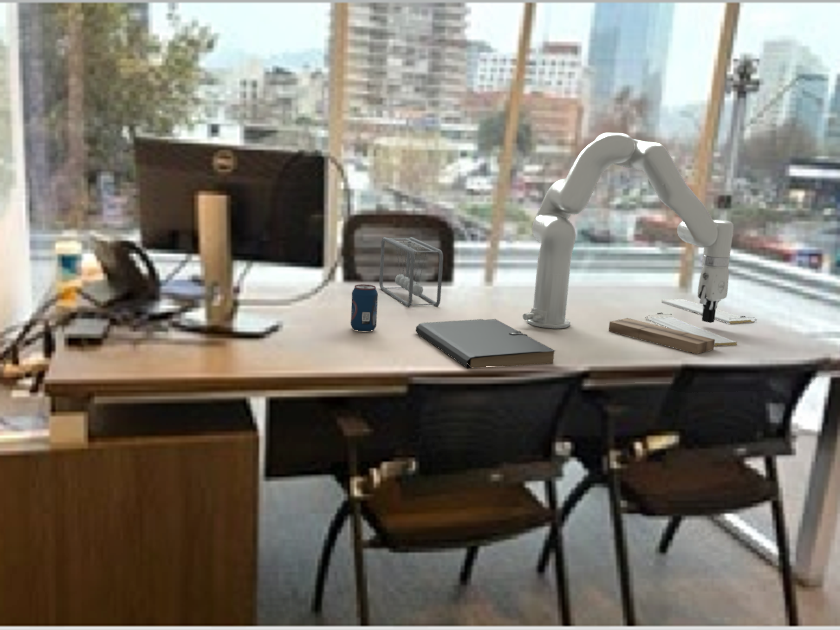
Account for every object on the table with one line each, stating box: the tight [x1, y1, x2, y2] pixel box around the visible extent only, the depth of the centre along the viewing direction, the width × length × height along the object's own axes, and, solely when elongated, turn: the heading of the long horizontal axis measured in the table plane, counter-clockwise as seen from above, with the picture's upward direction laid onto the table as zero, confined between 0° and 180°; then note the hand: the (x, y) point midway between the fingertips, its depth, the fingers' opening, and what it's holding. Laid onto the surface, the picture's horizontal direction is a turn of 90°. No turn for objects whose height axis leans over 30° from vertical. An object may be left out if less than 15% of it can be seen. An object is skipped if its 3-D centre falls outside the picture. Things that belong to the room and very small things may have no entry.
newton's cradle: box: [379, 236, 444, 308], centre depth 274 cm, size 30×10×18 cm, turn 21°
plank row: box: [608, 317, 715, 355], centre depth 239 cm, size 9×28×3 cm, turn 43°
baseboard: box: [644, 312, 738, 347], centre depth 250 cm, size 30×3×10 cm
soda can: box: [350, 284, 379, 331], centre depth 230 cm, size 7×7×12 cm
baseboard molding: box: [661, 298, 758, 324], centre depth 280 cm, size 31×3×12 cm
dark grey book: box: [415, 318, 556, 368], centre depth 220 cm, size 33×4×24 cm
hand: (707, 321), depth 258 cm, fingers closed
